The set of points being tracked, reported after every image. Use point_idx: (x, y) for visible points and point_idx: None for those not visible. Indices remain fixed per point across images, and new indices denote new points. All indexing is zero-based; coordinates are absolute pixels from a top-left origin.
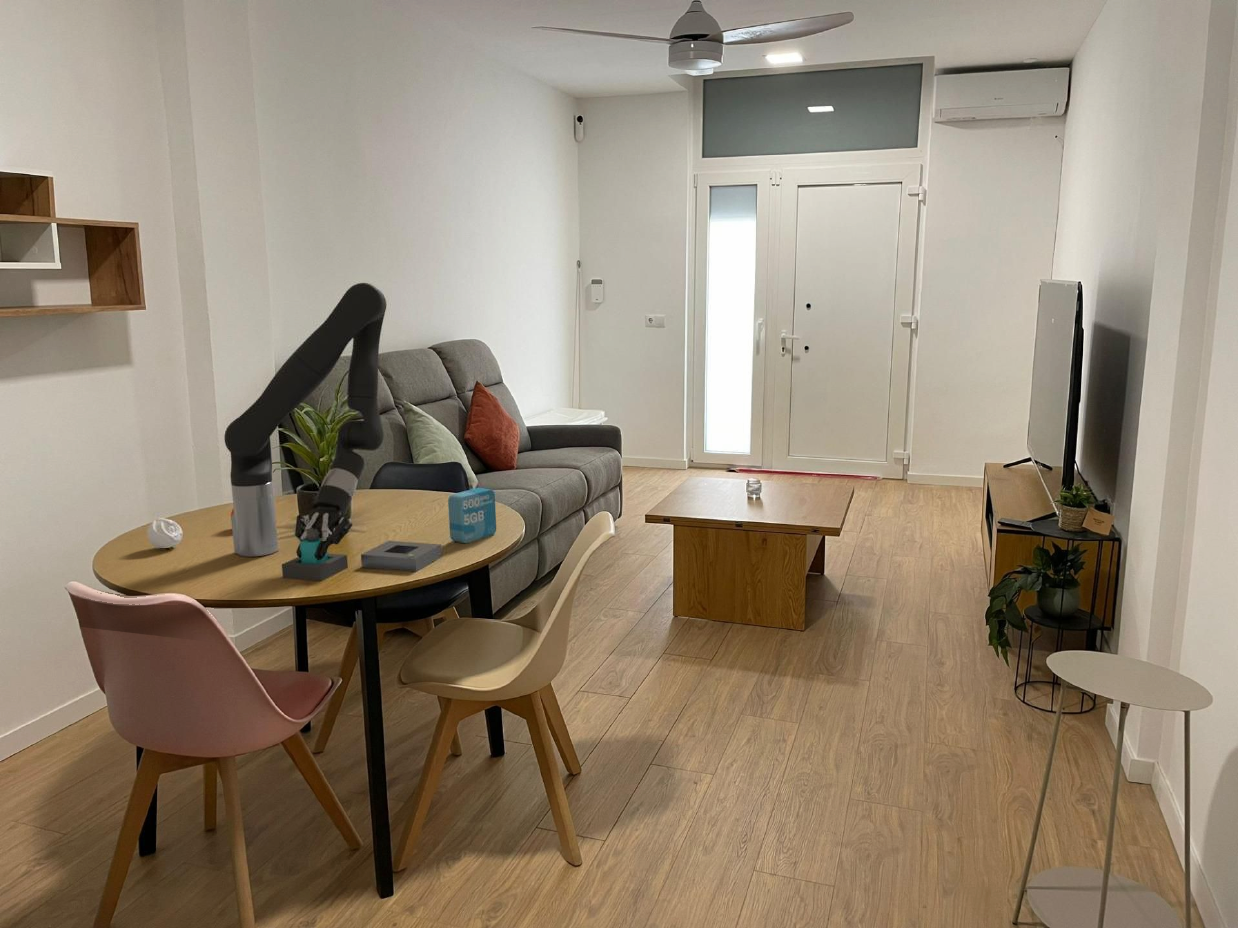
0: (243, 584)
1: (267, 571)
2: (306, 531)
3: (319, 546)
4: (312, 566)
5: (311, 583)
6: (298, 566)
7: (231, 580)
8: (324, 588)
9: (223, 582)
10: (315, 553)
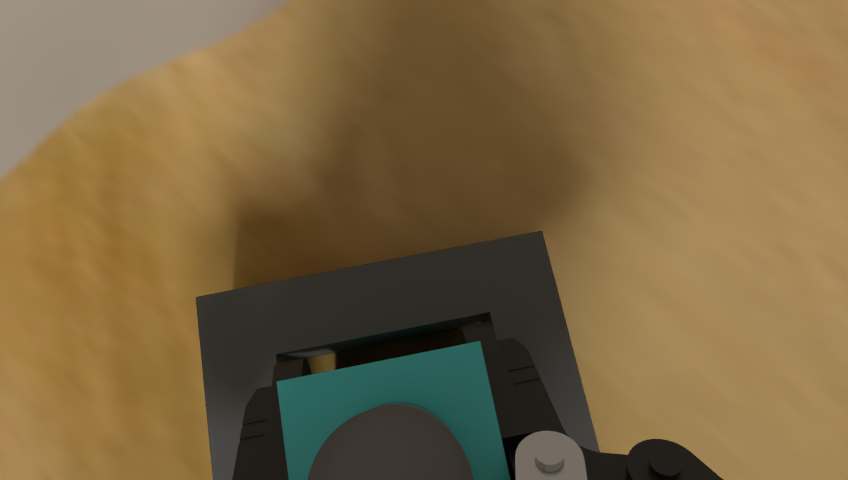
0: (621, 67)
1: (730, 304)
2: (437, 420)
3: (275, 430)
4: (277, 292)
5: (258, 246)
6: (395, 261)
7: (752, 87)
8: (112, 210)
9: (757, 45)
10: (295, 369)
